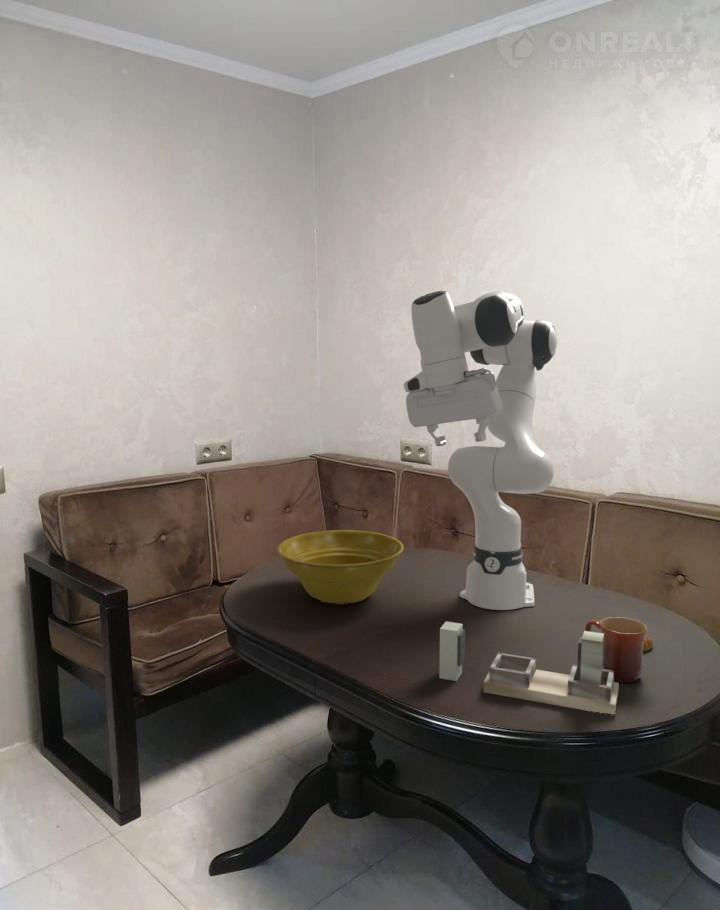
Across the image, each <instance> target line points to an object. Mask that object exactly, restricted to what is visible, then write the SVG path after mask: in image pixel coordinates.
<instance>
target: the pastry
mask: <svg viewBox="0 0 720 910" xmlns="http://www.w3.org/2000/svg"><path fill="white" fill-rule="evenodd" d="M653 643H654V642H653V640H652V638H651V637H649V636H648V635H646V636H645V638H644V642H643V653H644V652H648V651H650V650H651V649H652V648H653V646H654V645H653Z"/></svg>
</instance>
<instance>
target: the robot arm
mask: <svg viewBox="0 0 720 910" xmlns="http://www.w3.org/2000/svg"><path fill="white" fill-rule="evenodd" d="M410 308H411V311H410V312H411V321H412V329H413V334H414V335H413V336H414V340H415V345H416V346H417V348H418V350H419V352H420V367H421V371H420V372H419V373H417V374H416V375H414V376H413V377H411V378H410V379H408V380H406V381H405V382H404V383H403V389H404V391H405V392H406V393H407V395H406V398H405V406H406V411H407V418H408V420H409V423H410V424H411V425H412V426H413V428H419V427H426V429H427V432H428V433H429V434H430V436H431V437H432V438H433V439H434V443H435V446H436V447H443V446H446V445H447V440H446V436H445V435H441V433H440V432H439V430H438V429H439V428H440V427H439V424H442V425H443V424H447V423H454V422H463V421H469V420H475V423H476V425H478V428H477V432H474V433H473V435H474V438H475V439H474V441H475V442H476V443H477V442H484V441H486V440H487V435H486V429H488V431H489V433H491V435H493V436H494V437H496V438H497V439H498V440H501V441H502V442H504V445H503V446H499V447H498V446H481V445H479V446H478V445H472V446H464V447H460V448H457V449H456V450H454V451H453V453H452V454H451V456H450V457H449V459H448V464H447V472H448V476H449V478H450V480H451V482H452V483H453V485H455V486H456V487H457V488H458V489H459V490H460V491H461V492H462V493H463V495H464V496H465V497H466V499H467V500H468V502H469V504H470V506H471V509H472V512H473V517H474V526H475V527H474V529H475V531H474V532H475V540H474V541H475V543H474V544H473V550H472V554H473V555H472V557H473V558H472V559H473V561H472V562H471V563H470V564H469V565H468V566H467V568H466V582H465V583H466V584H465V589H464V590H462V591H460V593H459V597H460V598H462V599H465V600H467V602H468V603H470V604H471V605H473V606H476V607H478V608H482V609H487V610H493V611H494V610H496V611H509V610H516V609H520V608H530V607H535V591H534V585H533V584H532V583H530V582H527V571H526V567H525V565H524V563H523V556H524V555H523V547H522V542H521V539H522V538H521V536H522V535H521V533H522V531H521V530H522V520H521V517H520V515H519V514H518V512H517V511H516V510H515V509H514V508H513V507H511V506H509V505H507V504H506V503H505V502H504V501H503V500H502V498H501V497H500V495H499V493H508V494H520V495H526V494H536V493H543V492H545V491H546V490H547V489H548V488H549V487H550V486H551V483H552V481H553V479H554V465H553V463H552V460H551V458H550V457H549V455H548V454H547V453H546V452H545V451H543V450H542V449H541V448H540V447H539V446H538V444H537V443H536V441H535V439H534V436H533V432H532V431H533V429H532V428H533V424H532V423H533V416H534V408H535V403H536V395H537V376H536V375H537V374H536V371H539V372H540V371H541V370H542V369H543V368H544V365H545V366H546V364H548V363H549V362H550V361H551V360H552V358H553V357H554V355H555V353H556V349H557V347H558V336H557V332H556V328H555V326H554V325H553V324H552V322H550V321H547V320H541V319H536V320H527V319H526V320H525V319H524V315H525V310H524V304H523V303H522V300H520V298H519V297H517V295H514V294H513V293H510V292H506V291H493V292H488V293H485V294H483V295H480V296H479V297H477V298H476V299H474V300H473V301H471V302H468V303H463V304H459V305H455V306H454V305H453V300H452V299H451V296H450V294H449V292H448V291H446V290H438V291H434V292H429V293H426V294H425V295H422V296H419V297H417V298H416V299H414V300H413V302H412V303H411V307H410ZM466 353H469V354H470V356H471V358H472V359H473V361H474V362H475V363H476V364H480V365H485V366H489V365H496V366H502V367H501V368H500V370H499V372H498V374H497V376H495V374H494V373H493V371H491V370H490V369H487V368H486V367H483V368H482V367H481V368H479V369H472V370H471V369H470V370H469V367H468V363H467V357H466ZM535 369H536V371H535ZM495 377H496V378H495Z"/></svg>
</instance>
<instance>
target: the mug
mask: <svg viewBox="0 0 720 910" xmlns="http://www.w3.org/2000/svg"><path fill="white" fill-rule="evenodd" d="M592 626H595V627H597V628H598V629H599V630H600V633H603V634H604V644H603V666H602V669H606V670H612V671H614V682H619V681H620V682H619V683H631V682H632V681H633V682H635V681H636V680H639V679H640V677H641V674H642V670H643V660H644V659H643V654H644V652H643V642H644V638H645V636H647V633H648V630H649V628H648V626H647V624H645V623H644V622H642V621H639V620H638V619H634V618H629V617H624V616H623V617H622V616H612V617H611V616H610V617H605V618H603V619H601V620H597V619H592V620H589V621H588V622H587V623H586V624H585V627H584V631H589V632H592ZM633 682H632V683H633Z"/></svg>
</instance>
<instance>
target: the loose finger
mask: <svg viewBox="0 0 720 910" xmlns="http://www.w3.org/2000/svg"><path fill="white" fill-rule="evenodd" d="M463 627H464V624H463V623H458V622H453V621H445V622H444V623H443V624H442V626H441V627H440V628H439V667H438V669H439V671H438V673H439V675H438V676H439V679H442V680H446V681H447V680H448V681H453V682H457V681H458V680H459V678H460V676H461V675H462V673H463V662H464V661H465V659H466V658H465V657H466V655H465V654H466V653H465V652H466V629H464V628H463Z"/></svg>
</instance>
